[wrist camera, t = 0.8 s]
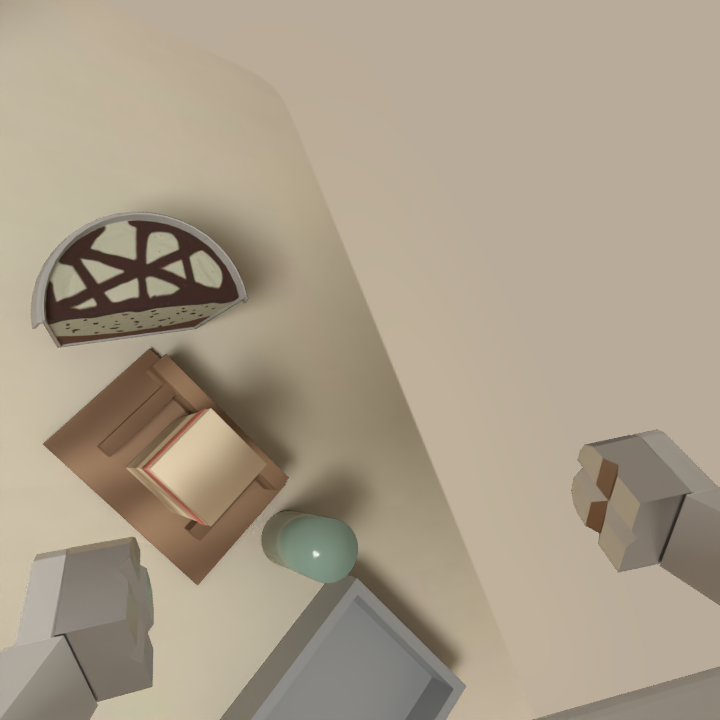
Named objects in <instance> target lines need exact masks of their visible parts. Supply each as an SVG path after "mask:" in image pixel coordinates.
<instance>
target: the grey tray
mask: <svg viewBox="0 0 720 720" xmlns="http://www.w3.org/2000/svg"><path fill="white" fill-rule="evenodd" d="M465 687H466V685H465V684H464V683H463V682H462V681H461V680H460V679H459V678H458V677H457V676H456V675H455V674H454V673H453V672H452V671H451V670H450V669H449V668H448V667H447V666H446V665H445V664H444V663H443V662H441V661H440V660H439V659H438V658H437V657H436V656H435V655H434V654H433V653H432V652H431V651H430V650H429V649H428V648H427V647H426V646H425V645H424V644H423V643H422V642H421V641H420V640H419V639H418V638H417V637H416V636H415V635H414V634H413V633H412V632H411V631H410V630H409V629H408V628H407V627H406V626H405V625H404V624H403V623H402V622H401V621H400V620H399V619H398V618H397V617H396V616H395V615H394V614H393V613H392V612H391V611H390V610H389V609H388V608H387V607H386V606H385V605H384V604H383V603H382V602H381V601H380V600H379V599H378V598H377V597H376V596H375V595H374V594H373V593H372V592H371V591H370V590H369V589H368V588H367V587H366V586H365V585H364V584H363V583H362V582H361V581H360V580H359V579H358V578H356V577H353V576H350V575H348V574H347V575H346V576H345V577H344V578H343V579H341V580H339V581H337V582H334V583H325V585H324V586H323V587H322V588H321V590H320V591H319V592H318V594H317V595H316V596H315V598H314V599H313V600H312V601H311V603H310V604H309V605H308V607H307V608H306V609H305V610H304V612H303V613H302V614H301V616H300V617H299V618H298V620H297V621H296V622H295V623H294V625H293V626H292V627H291V629H290V630H289V631H288V632H287V634H286V635H285V636H284V638H283V639H282V640H281V642H280V643H279V644H278V645H277V647H276V648H275V649H274V651H273V652H272V653H271V654H270V656H269V657H268V658H267V660H266V661H265V662H264V663H263V665H262V666H261V667H260V669H259V670H258V671H257V673H256V674H255V675H254V676H253V678H252V679H251V680H250V682H249V683H248V684H247V685H246V687H245V688H244V689H243V691H242V692H241V693H240V695H239V696H238V697H237V698H236V700H235V701H234V702H233V704H232V705H231V706H230V707H229V709H228V710H227V711H226V713H225V714H224V715H223V717H222V718H221V719H220V720H446V718H447V717H448V715H449V714H450V712H451V710H452V709H453V707H454V705H455V704H456V702H457V700H458V699H459V697H460V696H461V694H462V692H463V691H464V689H465Z"/></svg>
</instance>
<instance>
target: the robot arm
mask: <svg viewBox="0 0 720 720" xmlns="http://www.w3.org/2000/svg"><path fill="white" fill-rule="evenodd" d="M578 461H579V463H580V464H581V466H582V467H583V468H582V469H581V470H580V471H579V472H578V473H577V475H576V476H575V477H574V479H573V484H572V490H571V491H572V497H573V503H574V506H575V508H576V511H577V513H578V515H579V517H580V518H581V520H582V521H583V523H584V524H585V526H587V527H589V528H591V529H593V530H594V531H596V532H598V533H599V542H598V544H599V546H600V547H601V549H602V550H603V551H604V553H605V554H606V556H607V557H608V558H609V560H610V561H611V563H612V564H613V566H614V567H615V568H616V570H617V571H618V572H622V571H627V570H632V569H637V568H641V567H646V566H651V565H655V564H660V563H661V564H660V566H661V567H662V568H664V569H666V570H667V571H669V572H670V573H671V574H673V575H674V576H676V577H677V578H679V579H681V580H682V581H684V582H685V583H687V584H688V585H690V586H691V587H693V588H694V589H696V590H697V591H699V592H700V593H702V594H703V595H705V596H706V597H708V598H709V599H711V600H712V601H714V602H715V603H717V604H719V605H720V487H718V486H717V485H716V484H715V483H714V482H713V481H712V480H711V479H710V478H709V477H708V476H707V475H706V474H705V473H704V472H703V471H702V470H701V469H700V468H699V467H698V466H697V465H696V464H695V463H694V462H693V461H692V460H691V459H690V458H689V457H688V456H687V455H686V454H685V453H684V452H683V451H682V450H681V449H680V448H679V447H678V446H677V445H676V444H675V443H674V442H673V441H672V440H671V439H670V438H669V437H668V436H667V435H666V434H665V433H664V432H662V431H660V430H653V431H648V432H643V433H639V434H634V435H628V436H623V437H618V438H614V439H609V440H605V441H600V442H595V443H590V444H586V445H584V446H583V447H582V449H581V450H580V453H579V458H578ZM153 624H154V607H153V597H152V588H151V584H150V579H149V575H148V572H147V569H146V568H145V567H143V566H141V565H140V548H139V546H138V543H137V540H136V538H135V537H128V538H123V539H117V540H112V541H106V542H100V543H95V544H89V545H83V546H78V547H72V548H69V549H64V550H58V551H53V552H47V553H42V554H37V555H36V557H35V559H34V560H33V562H32V564H31V568H30V573H29V578H28V583H27V587H26V592H25V597H24V602H23V606H22V611H21V616H20V621H19V625H18V630H17V635H16V640H15V644H14V646H12V647H8V648H4V649H3V650H2V651H1V653H0V720H90V718H91V716H92V715H93V713H94V711H95V709H96V708H97V706H98V705H97V702H99V701H102V700H106V699H110V698H113V697H117V696H121V695H124V694H128V693H132V692H135V691H139V690H143V689H146V688H150V687H152V679H153V647H152V644H151V641H150V638H149V635H148V631H149V630H150V628H151V627H152V626H153ZM533 720H720V667H716V668H713V669H709V670H706V671H702V672H699V673H696V674H692V675H688V676H685V677H681V678H678V679H674V680H671V681H667V682H664V683H660V684H657V685H653V686H650V687H646V688H643V689H639V690H636V691H632V692H628V693H625V694H621V695H618V696H615V697H611V698H607V699H604V700H600V701H597V702H593V703H590V704H586V705H583V706H579V707H576V708H572V709H569V710H565V711H562V712H558V713H555V714H551V715H548V716H544V717H540V718H537V719H533Z"/></svg>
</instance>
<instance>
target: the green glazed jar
mask: <svg viewBox="0 0 720 720" xmlns="http://www.w3.org/2000/svg"><path fill="white" fill-rule="evenodd" d="M261 541H262V548H263V551H264V553H265V554H266V556H267V557H268V558H269V559H270V560H271V561H272V562H274V563H276V564H278V565H280V566H283V567H285V568H287V569H290V570H292V571H295V572H297V573H299V574H302V575H304V576H306V577H309V578H311V579H313V580H316V581H318V582H321V583H334V582H337V581H339V580H341V579H343V578H344V577H345V576H346V575H347V574H348V573H349V572H350V571H351V570H352V568H353V566H354V564H355V562H356V559H357V554H358V543H357V539H356V536H355V534H354V532H353V530H352V529H351V528H350V527H349V526H348V525H347V524H346V523H344V522H343V521H341V520H338V519H333V518H328V517H322V516H317V515H312V514H306V513H301V512H296V511H282V512H279V513H277V514H275V515H274V516H272V517H271V518H270V519H269V520H268V522H267V523H266V525H265V527H264V529H263V532H262V539H261Z"/></svg>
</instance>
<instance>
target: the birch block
mask: <svg viewBox="0 0 720 720" xmlns="http://www.w3.org/2000/svg"><path fill="white" fill-rule="evenodd" d="M266 465H267V464H266V463H265V462H264V461H263V460H262V459H261V458H260V457H259V456H258V455H257V454H256V453H255V452H254V451H253V450H252V449H251V448H250V447H249V446H248V445H247V444H246V443H245V442H244V441H243V440H242V439H241V438H240V437H239V436H238V435H237V434H236V433H235V432H234V431H233V430H232V429H231V428H230V427H229V426H228V425H227V424H226V423H225V422H224V421H223V420H222V419H221V418H220V417H219V416H218V415H217V414H216V413H215V412H214V411H213V410H212V409H211V408H210V409H203V410H200V411H199V412H197V413H194V414H191V415H188V416H185V417H182V418H178V419H175V420H173V421H172V422H171V423H170V424H169V425H168V426H167V427H166V428H165V429H164V430H163V431H162V432H161V433H160V434H159V435H158V436H157V437H156V438H155V439H154V440H153V441H152V442H151V443H150V444H149V445H148V446H147V447H146V448H145V449H144V450H143V451H142V452H141V453H140V454H139V455H138V456H137V457H135V458H134V459H133V460H132V461H131V462H130V463H129V464H128V465H127V466H126V467H125V468H126V469H127V470H128V471H129V472H130V473H131V474H132V475H133V476H135V477H136V478H137V479H138V480H139V481H140V482H141V483H142V484H143V485H144V486H145V487H146V488H147V489H148V490H149V491H151V492H152V493H153V494H154V495H155V496H156V497H157V498H158V499H159V500H160V501H161V502H162V503H163V504H164V505H165V506H167V507H168V508H169V509H170V510H171V511H172V512H173V513H176V514H178V515H181V516H184V517H186V518H189V519H192V520H195V521H197V522H198V523H199V524H202V525H205V526H206V525H208V526H212V525H213V524H214V523H215V521H216V520H217V519H218V518H219V517H220V516H221V515H222V514H223V513H224V511H225V510H226V509H227V508H228V507H229V506H230V505H231V504H232V503H233V501H234V500H235V499H236V498H237V497H238V496H239V495H240V494H241V493H242V492H243V490H244V489H245V488H246V487H247V486H248V485H249V484H250V483H251V482H252V480H253V479H254V478H255V477H256V476H257V475H258V474H259V473H260V472H261V470H262V469H263V468H264V467H265V466H266Z"/></svg>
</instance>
